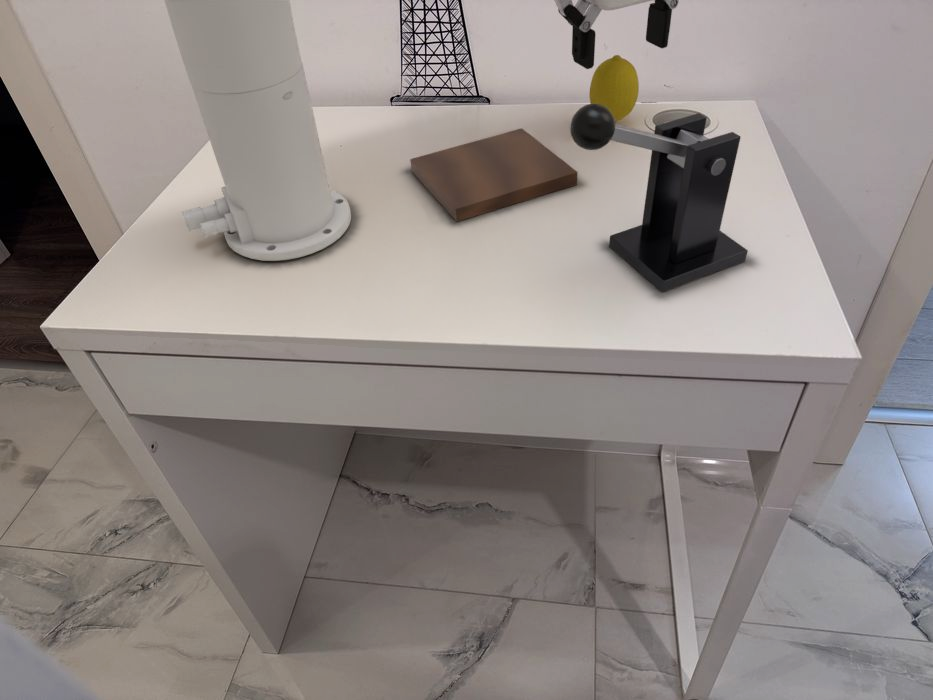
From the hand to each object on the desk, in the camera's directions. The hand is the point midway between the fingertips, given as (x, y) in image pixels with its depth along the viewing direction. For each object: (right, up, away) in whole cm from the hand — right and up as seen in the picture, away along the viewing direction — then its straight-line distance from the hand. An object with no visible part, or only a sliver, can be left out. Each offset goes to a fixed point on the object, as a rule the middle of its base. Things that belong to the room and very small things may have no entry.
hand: (620, 54), depth 77 cm
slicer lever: (-4, -18, -23) cm, 30 cm away
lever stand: (+2, -24, -14) cm, 28 cm away
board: (-14, -14, -2) cm, 21 cm away
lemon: (0, -6, +5) cm, 8 cm away
